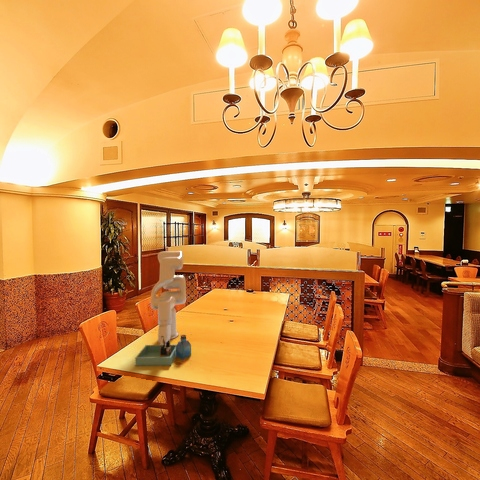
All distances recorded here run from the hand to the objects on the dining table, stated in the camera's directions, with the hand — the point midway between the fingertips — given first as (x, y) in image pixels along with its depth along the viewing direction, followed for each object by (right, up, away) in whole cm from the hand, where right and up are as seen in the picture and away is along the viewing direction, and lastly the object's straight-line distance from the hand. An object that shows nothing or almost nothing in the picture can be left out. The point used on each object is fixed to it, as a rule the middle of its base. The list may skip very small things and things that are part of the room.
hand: (165, 351), depth 147 cm
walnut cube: (0, -4, 0) cm, 4 cm away
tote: (-4, -4, 0) cm, 6 cm away
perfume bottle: (+10, -4, +3) cm, 11 cm away
